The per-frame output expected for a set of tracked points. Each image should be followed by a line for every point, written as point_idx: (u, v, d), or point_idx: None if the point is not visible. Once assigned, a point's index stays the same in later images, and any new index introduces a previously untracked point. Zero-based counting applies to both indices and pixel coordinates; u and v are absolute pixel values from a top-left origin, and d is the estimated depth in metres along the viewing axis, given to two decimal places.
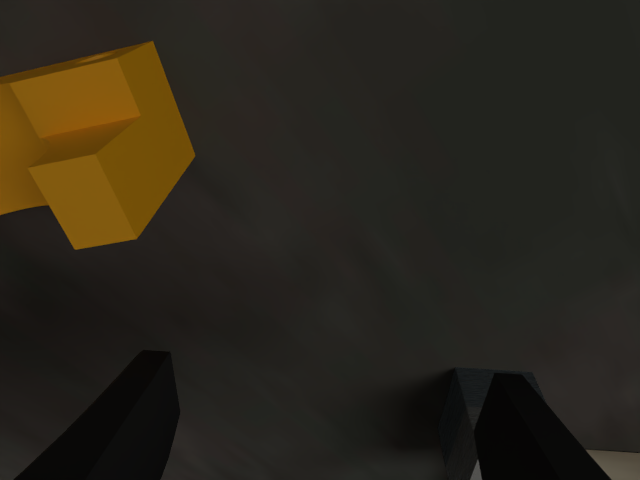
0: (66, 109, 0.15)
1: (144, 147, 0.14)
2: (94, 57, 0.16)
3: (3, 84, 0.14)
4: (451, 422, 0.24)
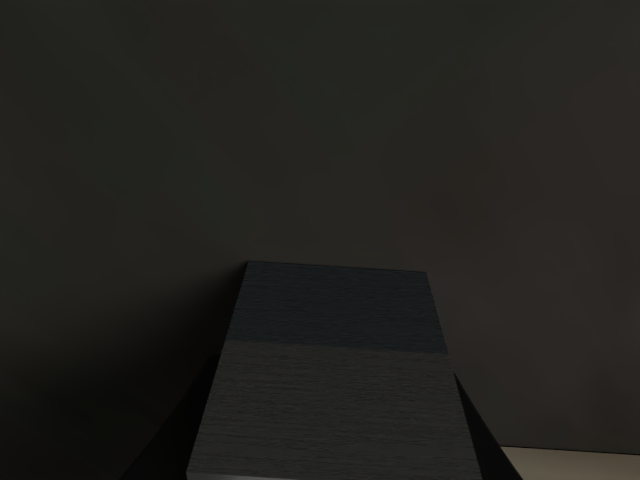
0: None
1: None
2: None
3: None
4: None
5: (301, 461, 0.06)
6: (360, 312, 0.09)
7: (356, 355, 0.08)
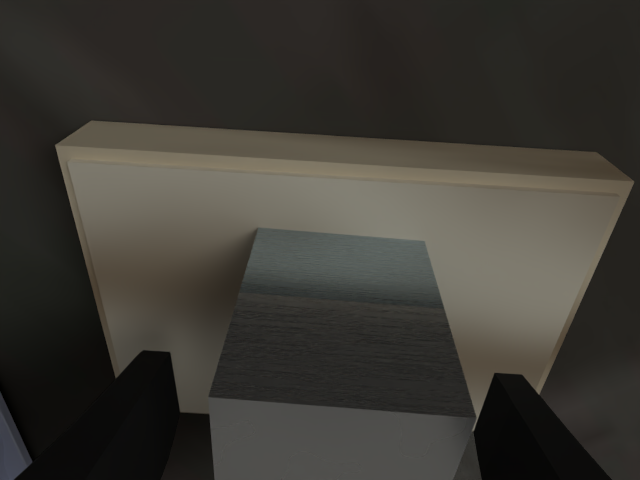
0: None
1: None
2: None
3: None
4: None
5: (310, 390, 0.07)
6: (363, 273, 0.10)
7: (360, 307, 0.09)
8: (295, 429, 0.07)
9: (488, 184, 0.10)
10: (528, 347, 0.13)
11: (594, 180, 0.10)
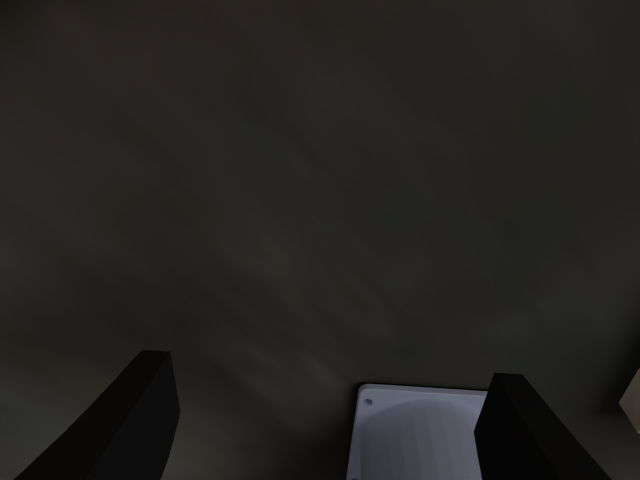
0: None
1: None
2: None
3: None
4: None
5: None
6: None
7: None
8: None
9: None
10: None
11: None
